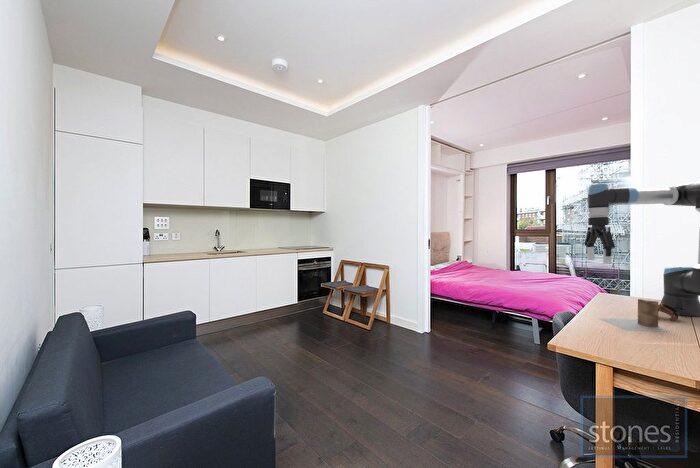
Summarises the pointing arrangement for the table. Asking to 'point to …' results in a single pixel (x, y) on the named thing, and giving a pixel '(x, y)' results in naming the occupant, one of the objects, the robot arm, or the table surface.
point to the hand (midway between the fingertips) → (598, 261)
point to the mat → (632, 325)
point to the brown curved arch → (665, 309)
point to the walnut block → (648, 312)
